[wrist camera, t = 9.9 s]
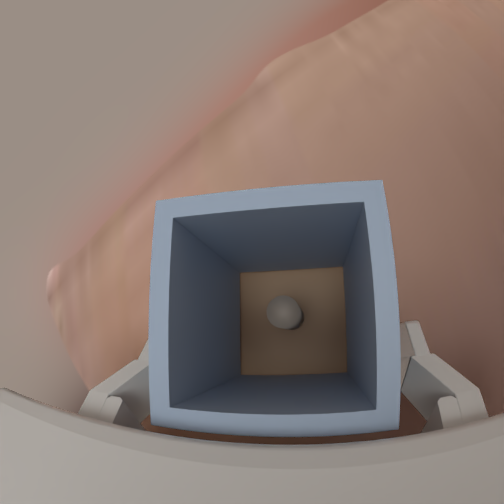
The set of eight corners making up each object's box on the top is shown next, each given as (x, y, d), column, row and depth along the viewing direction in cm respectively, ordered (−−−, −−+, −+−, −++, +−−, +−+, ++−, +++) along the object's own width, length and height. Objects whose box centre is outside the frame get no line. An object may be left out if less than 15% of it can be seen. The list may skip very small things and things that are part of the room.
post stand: (240, 268, 18) (205, 238, 13) (345, 262, 17) (358, 227, 12) (241, 373, 17) (204, 390, 11) (350, 370, 16) (367, 388, 10)
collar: (228, 261, 17) (156, 200, 9) (353, 254, 15) (382, 180, 8) (228, 386, 15) (150, 424, 7) (359, 383, 14) (398, 429, 6)
